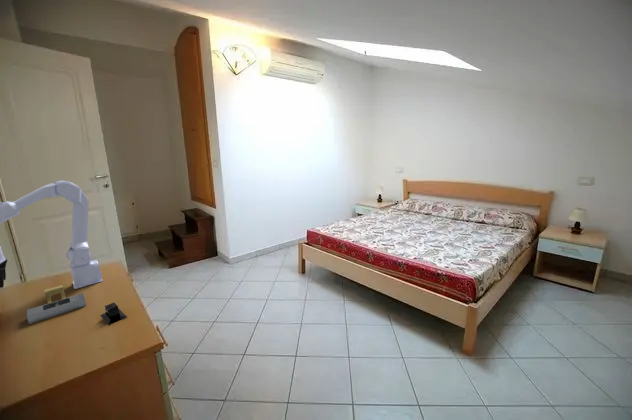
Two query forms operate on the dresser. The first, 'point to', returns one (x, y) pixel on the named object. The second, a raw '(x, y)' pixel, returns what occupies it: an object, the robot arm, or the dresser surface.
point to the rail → (55, 308)
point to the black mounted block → (112, 314)
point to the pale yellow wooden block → (54, 292)
